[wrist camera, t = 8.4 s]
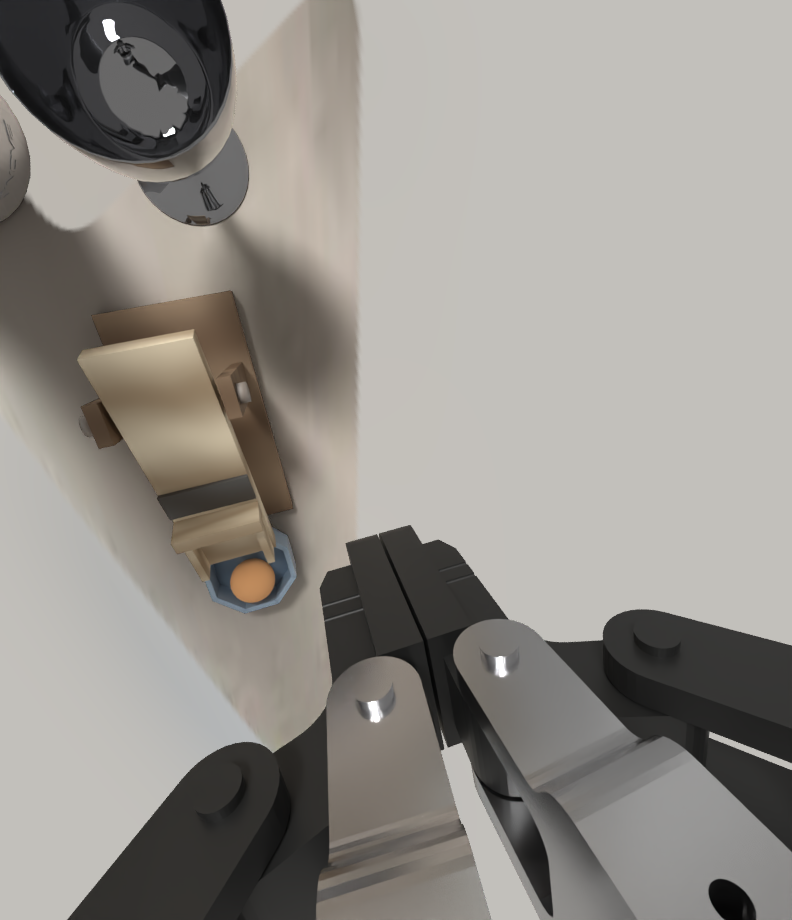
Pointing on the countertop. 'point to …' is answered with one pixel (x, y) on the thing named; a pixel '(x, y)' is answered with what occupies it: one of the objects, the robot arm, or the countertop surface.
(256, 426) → the stand
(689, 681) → the robot arm
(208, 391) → the lever
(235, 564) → the blue-grey shallow bowl
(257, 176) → the countertop surface
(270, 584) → the ball
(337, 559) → the countertop surface
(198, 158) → the wine glass
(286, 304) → the countertop surface
